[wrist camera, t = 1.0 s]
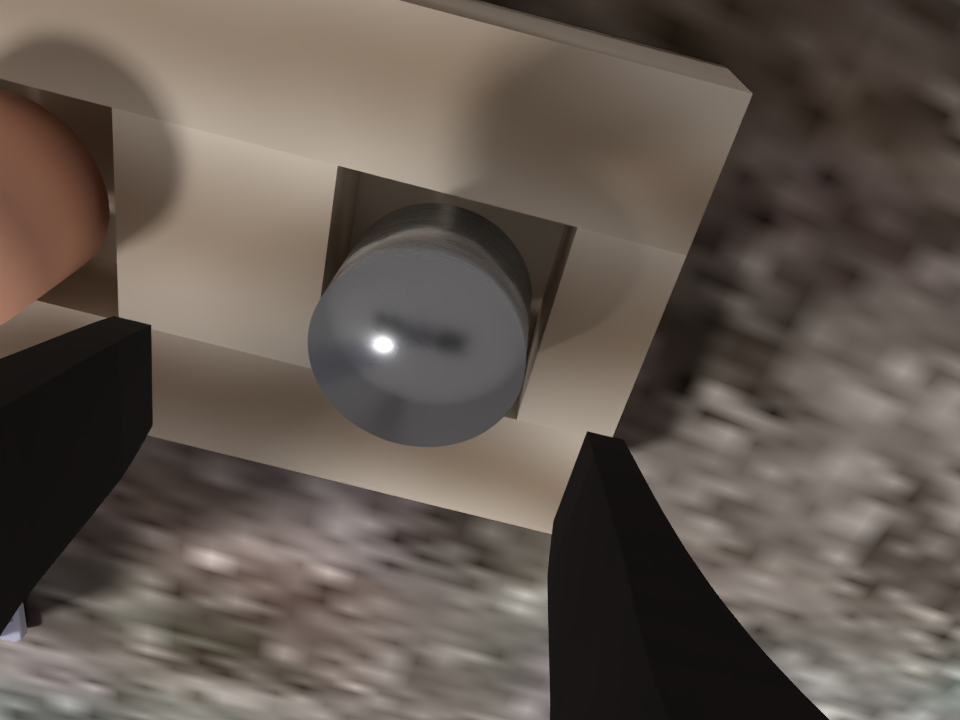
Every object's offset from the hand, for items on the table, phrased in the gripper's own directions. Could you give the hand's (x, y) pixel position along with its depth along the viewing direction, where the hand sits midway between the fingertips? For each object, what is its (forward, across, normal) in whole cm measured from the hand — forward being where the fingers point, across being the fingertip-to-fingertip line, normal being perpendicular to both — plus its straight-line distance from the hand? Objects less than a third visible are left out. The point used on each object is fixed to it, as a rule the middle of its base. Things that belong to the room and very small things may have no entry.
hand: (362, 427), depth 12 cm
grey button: (+6, 0, 0) cm, 6 cm away
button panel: (+8, +5, 0) cm, 10 cm away
